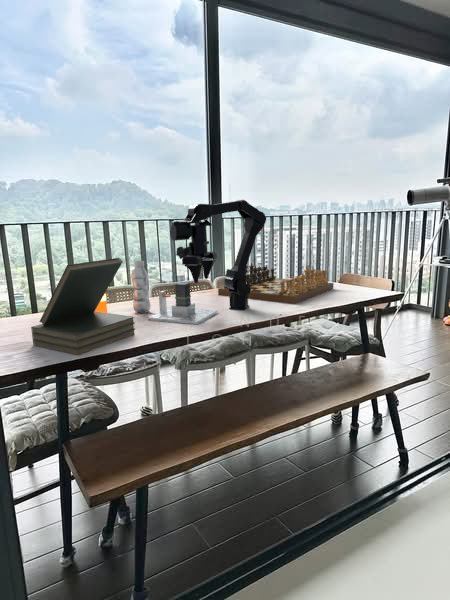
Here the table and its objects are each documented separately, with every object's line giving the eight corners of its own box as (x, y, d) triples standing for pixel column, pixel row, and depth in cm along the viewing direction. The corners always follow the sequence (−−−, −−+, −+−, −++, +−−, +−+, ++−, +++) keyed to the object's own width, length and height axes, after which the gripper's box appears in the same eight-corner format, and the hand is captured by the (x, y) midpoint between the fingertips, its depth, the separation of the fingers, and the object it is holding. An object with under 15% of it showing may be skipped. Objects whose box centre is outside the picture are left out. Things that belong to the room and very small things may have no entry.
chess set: (333, 290, 204) (334, 260, 201) (295, 305, 172) (295, 270, 169) (262, 283, 227) (262, 256, 224) (218, 296, 196) (217, 264, 193)
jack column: (191, 304, 156) (190, 282, 155) (185, 306, 153) (184, 284, 151) (181, 303, 158) (180, 282, 156) (175, 306, 154) (174, 284, 153)
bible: (92, 328, 144) (86, 255, 139) (135, 335, 134) (130, 257, 129) (33, 346, 125) (23, 263, 120) (78, 356, 115) (69, 266, 110)
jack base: (218, 312, 161) (217, 289, 159) (197, 324, 144) (196, 298, 142) (172, 309, 168) (171, 287, 166) (147, 320, 152) (146, 295, 150)
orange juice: (96, 312, 166) (92, 262, 162) (108, 316, 160) (103, 263, 156) (77, 316, 161) (72, 264, 157) (88, 319, 154) (83, 265, 150)
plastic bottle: (147, 314, 161) (144, 262, 157) (130, 314, 162) (127, 262, 158) (153, 310, 167) (150, 260, 163) (137, 310, 168) (134, 260, 164)
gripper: (190, 237, 165) (192, 276, 169) (167, 241, 148) (170, 284, 152) (216, 237, 161) (218, 277, 165) (196, 240, 144) (198, 285, 148)
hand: (201, 280), depth 157 cm, fingers open, 9 cm apart
